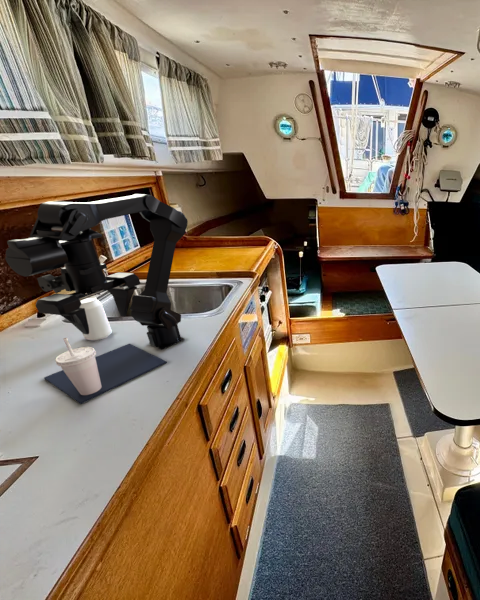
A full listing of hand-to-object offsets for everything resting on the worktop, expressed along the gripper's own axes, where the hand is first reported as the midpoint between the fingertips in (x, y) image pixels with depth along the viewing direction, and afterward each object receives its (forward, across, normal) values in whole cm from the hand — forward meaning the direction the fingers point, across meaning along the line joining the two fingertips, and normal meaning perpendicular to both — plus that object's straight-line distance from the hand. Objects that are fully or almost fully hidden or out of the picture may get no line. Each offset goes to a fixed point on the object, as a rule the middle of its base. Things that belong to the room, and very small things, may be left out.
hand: (106, 324), depth 77 cm
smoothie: (+13, +8, +1) cm, 15 cm away
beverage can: (+13, -13, -21) cm, 28 cm away
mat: (+13, +1, -3) cm, 13 cm away
